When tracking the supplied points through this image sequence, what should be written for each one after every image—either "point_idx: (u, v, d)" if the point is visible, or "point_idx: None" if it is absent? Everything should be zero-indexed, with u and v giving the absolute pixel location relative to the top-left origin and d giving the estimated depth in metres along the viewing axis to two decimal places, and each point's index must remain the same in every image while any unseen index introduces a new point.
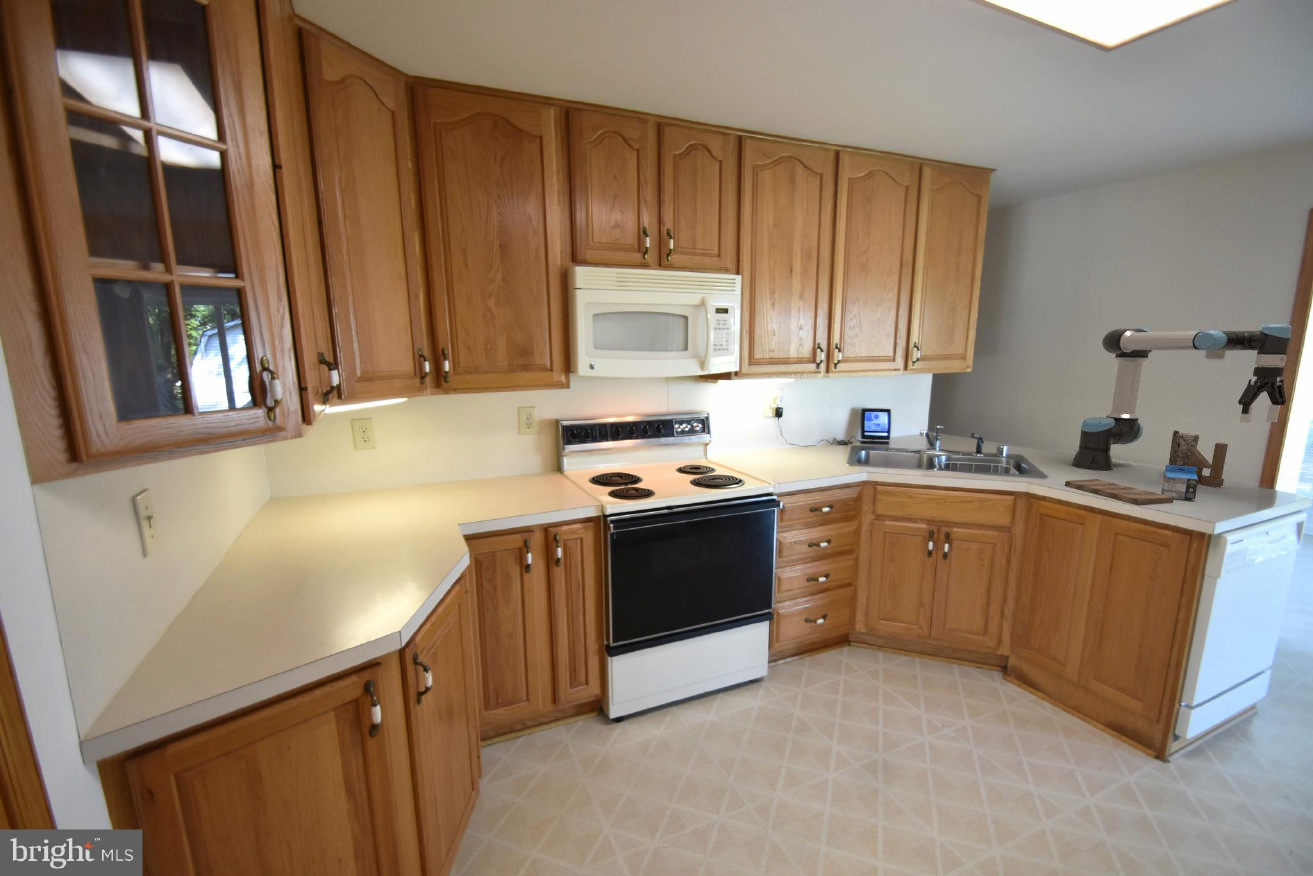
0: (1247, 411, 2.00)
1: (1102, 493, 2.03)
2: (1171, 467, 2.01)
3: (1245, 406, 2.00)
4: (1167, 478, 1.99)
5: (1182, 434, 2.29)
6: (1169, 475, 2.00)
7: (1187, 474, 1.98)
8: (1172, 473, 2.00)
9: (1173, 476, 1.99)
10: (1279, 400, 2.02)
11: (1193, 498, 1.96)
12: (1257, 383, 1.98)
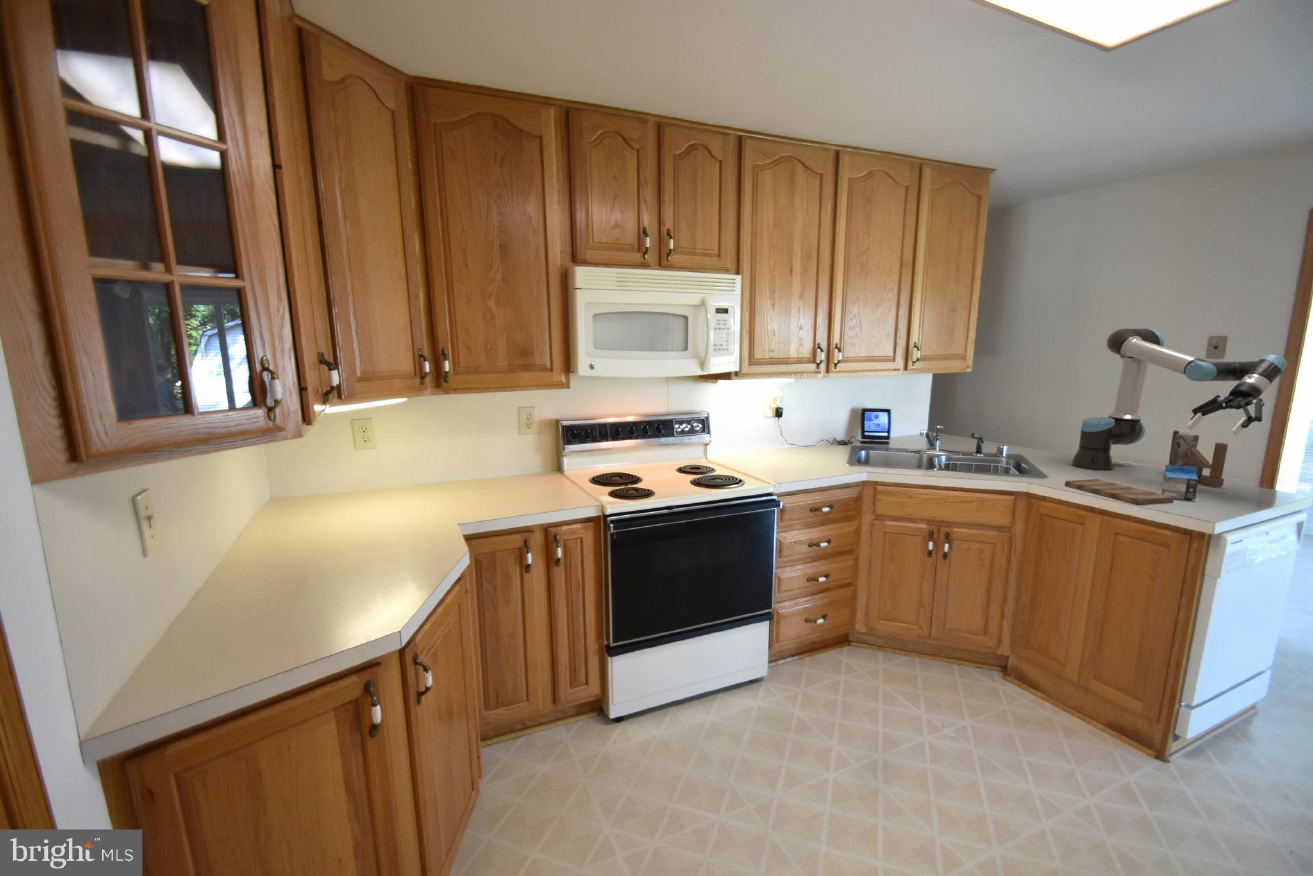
0: (1193, 417, 2.05)
1: (1102, 493, 2.03)
2: (1171, 467, 2.01)
3: None
4: (1167, 478, 1.99)
5: (1182, 434, 2.29)
6: (1169, 475, 2.00)
7: (1187, 474, 1.98)
8: (1172, 473, 2.00)
9: (1173, 476, 1.99)
10: (1247, 414, 1.91)
11: (1193, 498, 1.96)
12: (1215, 397, 2.04)
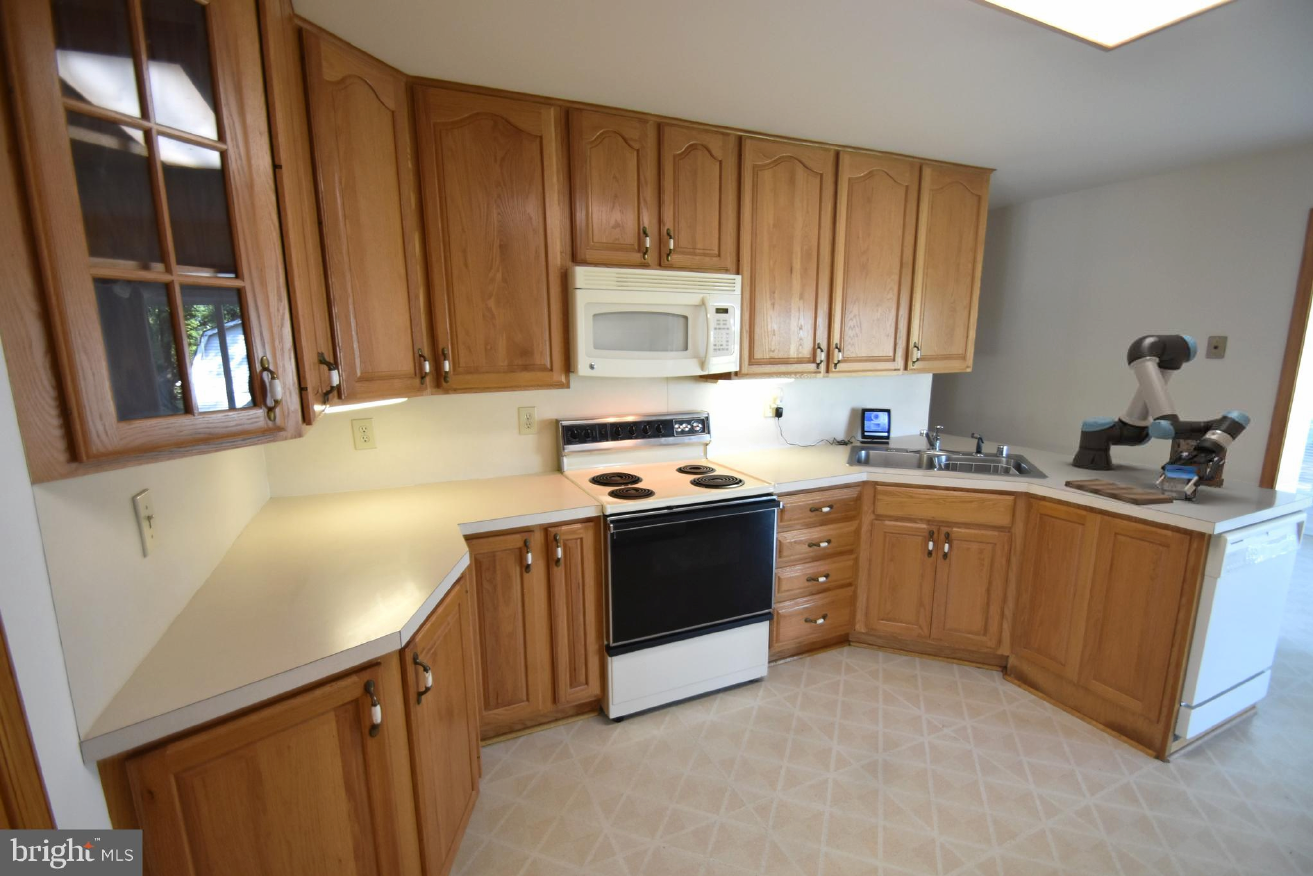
0: (1162, 475, 2.04)
1: (1102, 493, 2.03)
2: (1171, 467, 2.01)
3: None
4: (1167, 478, 1.99)
5: None
6: (1169, 475, 1.99)
7: (1187, 474, 1.98)
8: (1173, 473, 2.00)
9: (1173, 476, 1.98)
10: (1201, 472, 1.94)
11: (1193, 497, 1.96)
12: (1179, 453, 2.05)
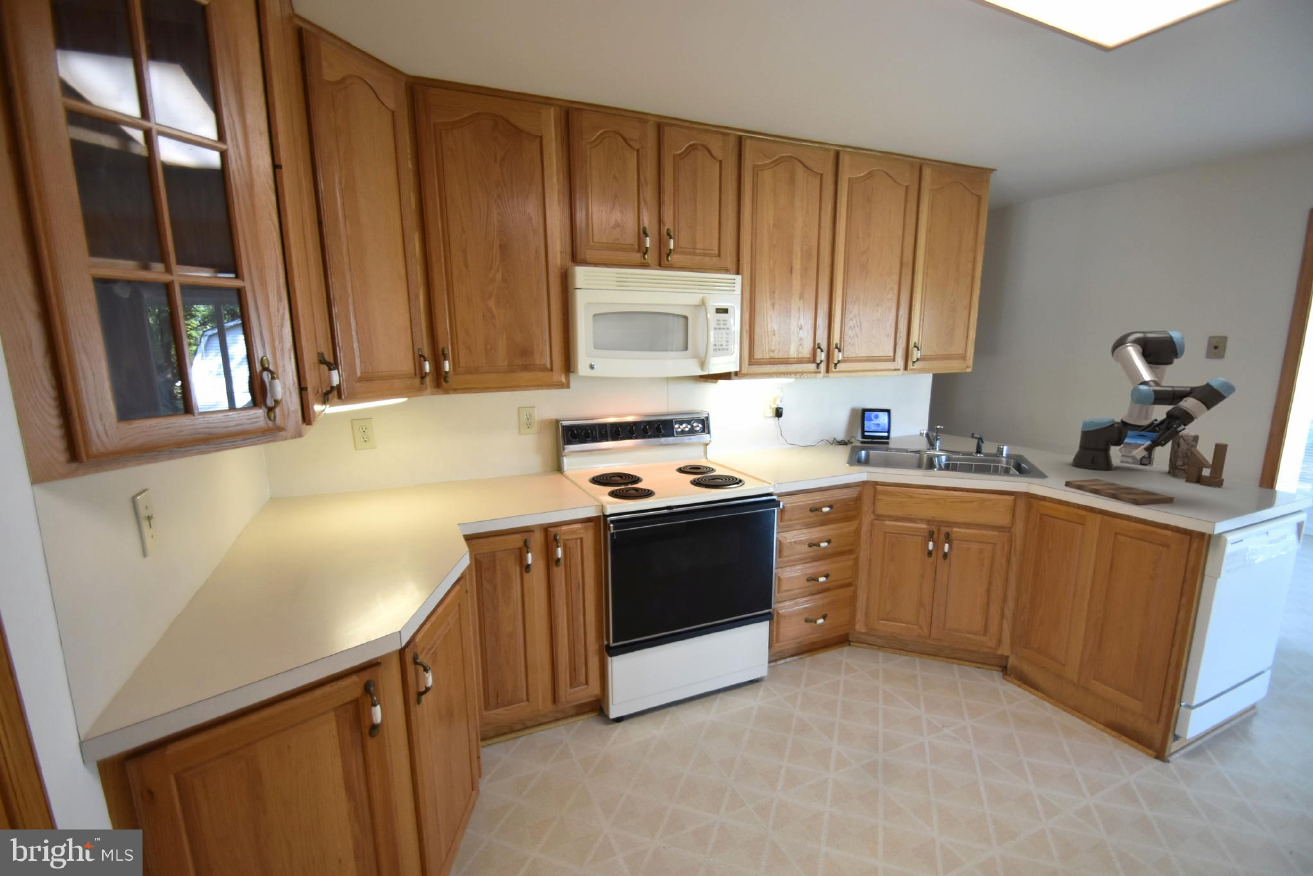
0: None
1: (1102, 493, 2.03)
2: (1133, 433, 2.00)
3: None
4: (1123, 443, 2.00)
5: (1182, 434, 2.29)
6: (1127, 440, 2.00)
7: (1147, 440, 1.97)
8: (1132, 439, 2.00)
9: (1129, 442, 1.99)
10: (1155, 438, 1.92)
11: (1148, 463, 1.95)
12: (1152, 421, 2.01)
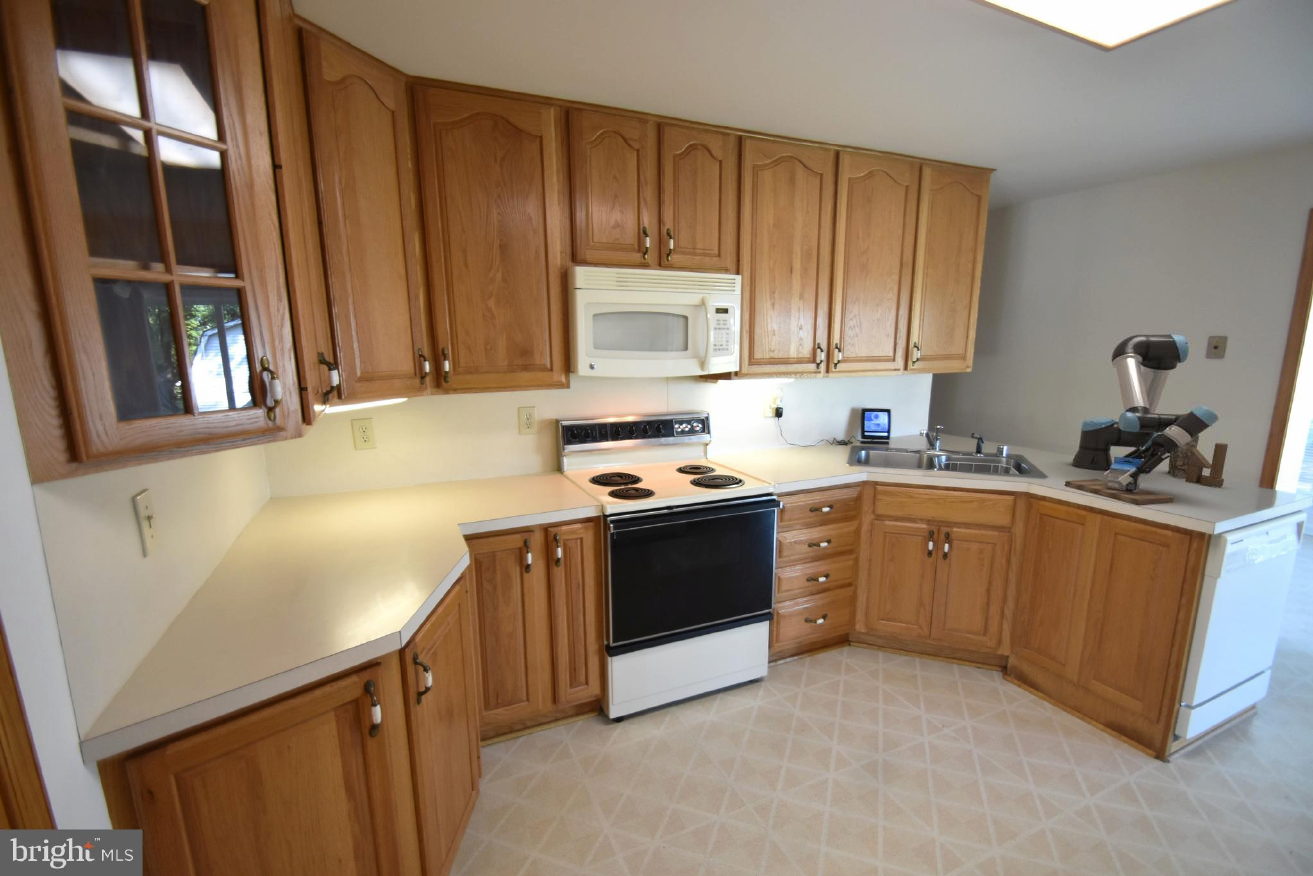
0: None
1: (1102, 493, 2.03)
2: (1119, 459, 2.05)
3: None
4: (1110, 469, 2.05)
5: None
6: (1113, 466, 2.05)
7: (1133, 466, 2.01)
8: (1119, 465, 2.05)
9: (1116, 467, 2.04)
10: (1140, 465, 1.97)
11: (1134, 489, 2.00)
12: (1138, 447, 2.06)
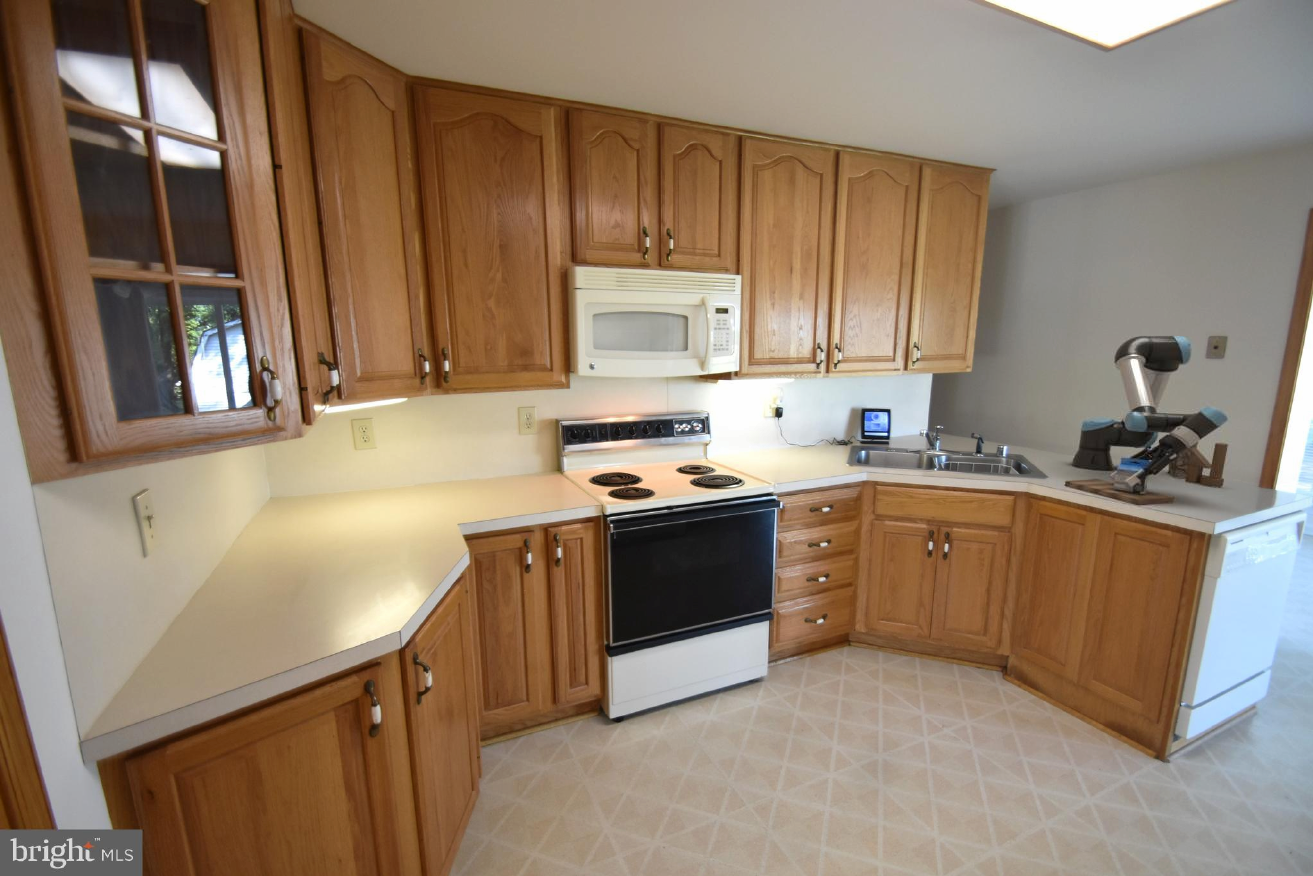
0: None
1: (1102, 493, 2.03)
2: (1126, 460, 2.03)
3: None
4: (1117, 470, 2.02)
5: None
6: (1120, 467, 2.02)
7: (1140, 467, 1.99)
8: (1126, 466, 2.02)
9: (1123, 468, 2.01)
10: (1148, 466, 1.95)
11: (1141, 490, 1.97)
12: (1146, 448, 2.03)
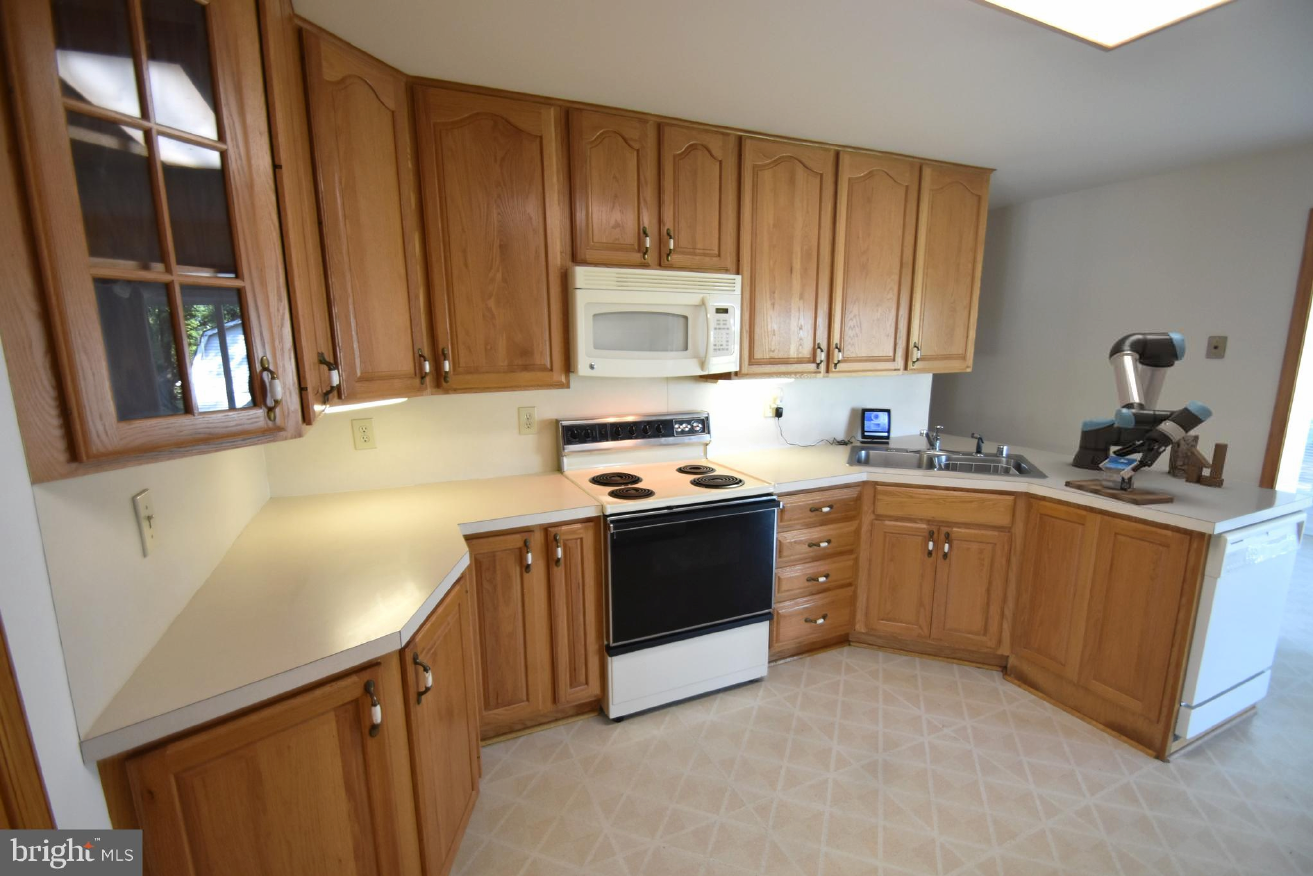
0: None
1: (1102, 493, 2.03)
2: (1114, 458, 2.07)
3: None
4: (1105, 468, 2.07)
5: None
6: (1108, 465, 2.07)
7: (1127, 465, 2.03)
8: (1113, 464, 2.07)
9: (1110, 466, 2.06)
10: (1141, 458, 1.97)
11: (1128, 488, 2.02)
12: (1135, 441, 2.07)
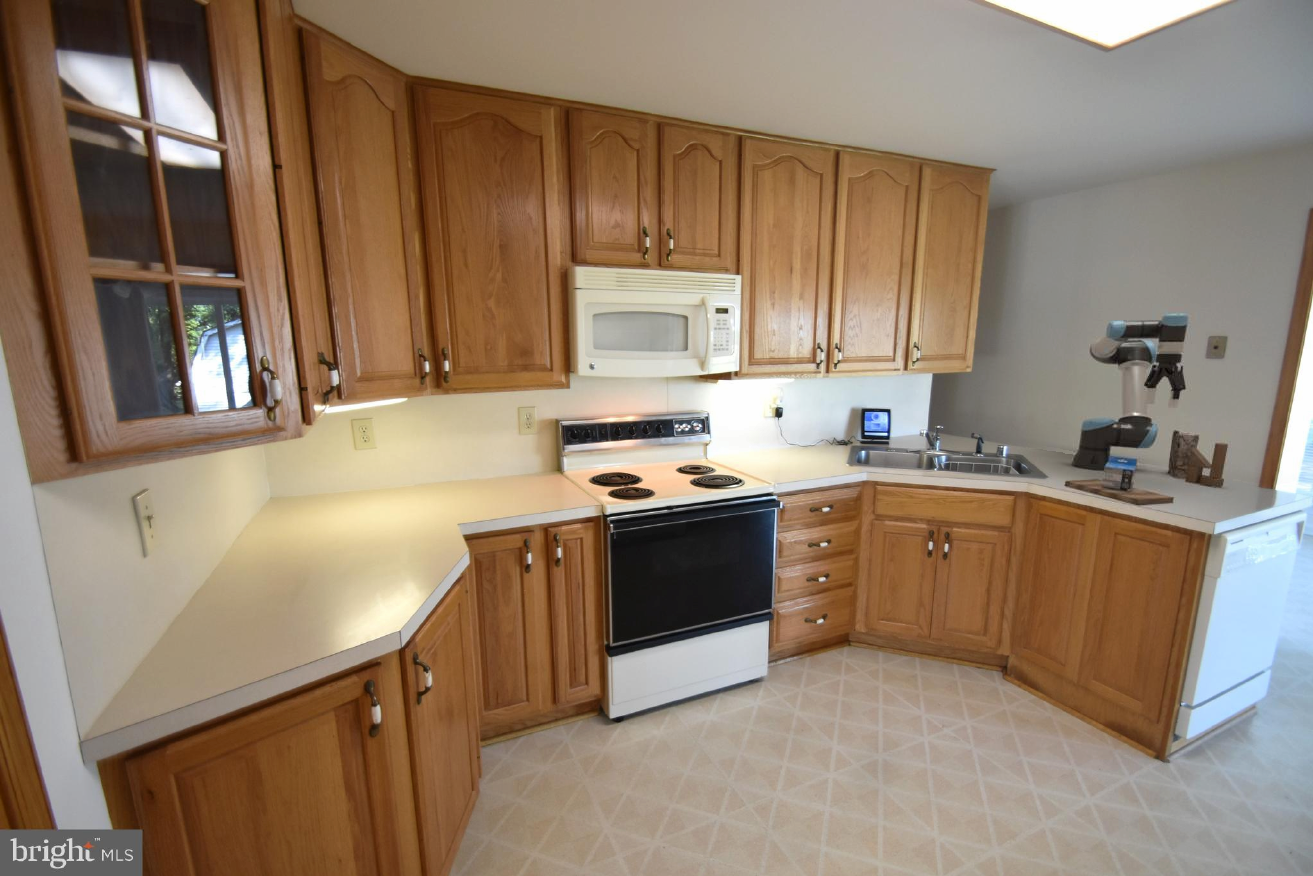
0: None
1: (1102, 493, 2.03)
2: (1114, 458, 2.07)
3: None
4: (1105, 468, 2.07)
5: (1182, 434, 2.29)
6: (1108, 465, 2.07)
7: (1127, 465, 2.03)
8: (1113, 464, 2.06)
9: (1110, 466, 2.06)
10: (1171, 386, 2.09)
11: (1128, 488, 2.02)
12: (1152, 368, 2.20)
